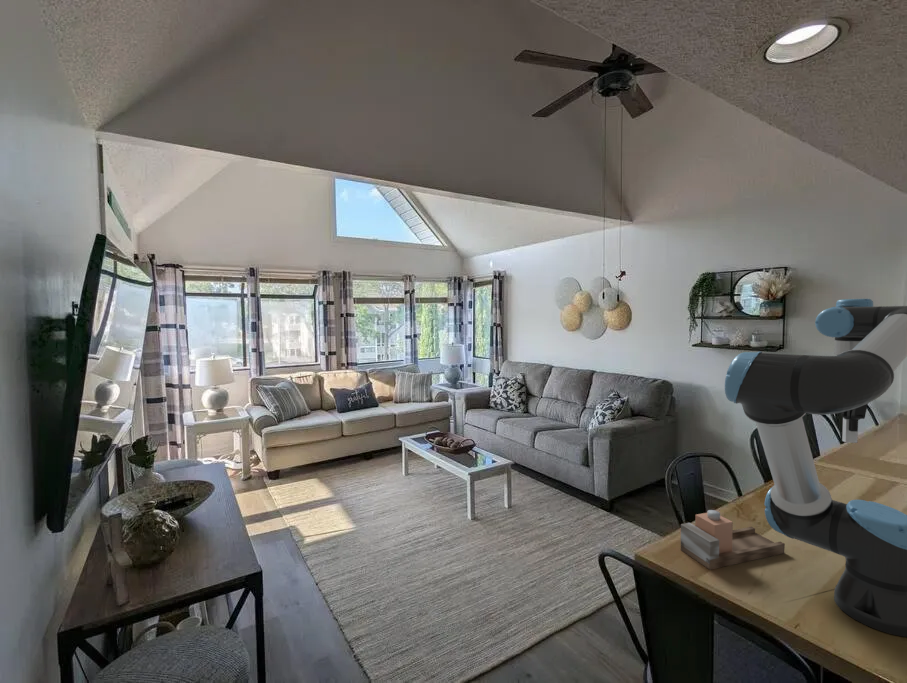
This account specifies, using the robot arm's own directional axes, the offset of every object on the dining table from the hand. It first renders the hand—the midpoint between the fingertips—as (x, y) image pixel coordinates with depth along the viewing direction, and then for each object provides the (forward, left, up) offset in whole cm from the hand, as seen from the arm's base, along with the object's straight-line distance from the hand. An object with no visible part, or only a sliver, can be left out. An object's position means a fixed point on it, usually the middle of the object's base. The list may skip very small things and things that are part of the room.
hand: (849, 441), depth 120 cm
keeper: (-11, +36, -29) cm, 47 cm away
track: (-8, +31, -30) cm, 44 cm away
